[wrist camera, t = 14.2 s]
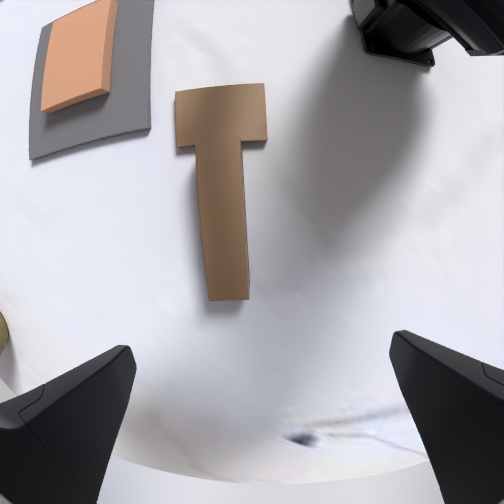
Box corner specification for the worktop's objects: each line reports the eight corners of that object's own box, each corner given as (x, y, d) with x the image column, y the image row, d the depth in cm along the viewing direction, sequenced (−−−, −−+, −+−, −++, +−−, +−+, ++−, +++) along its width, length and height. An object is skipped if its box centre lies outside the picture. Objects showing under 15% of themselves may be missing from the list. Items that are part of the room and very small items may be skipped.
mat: (156, -16, 14) (154, -19, 13) (151, 128, 18) (148, 127, 17) (45, 29, 14) (42, 27, 14) (33, 159, 18) (29, 160, 17)
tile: (110, 92, 16) (119, 3, 14) (101, 87, 15) (111, -5, 12) (52, 113, 16) (62, 27, 14) (40, 111, 15) (53, 22, 12)
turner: (263, 86, 17) (265, 72, 14) (272, 280, 21) (275, 298, 18) (178, 94, 17) (165, 83, 14) (192, 283, 21) (183, 301, 18)
